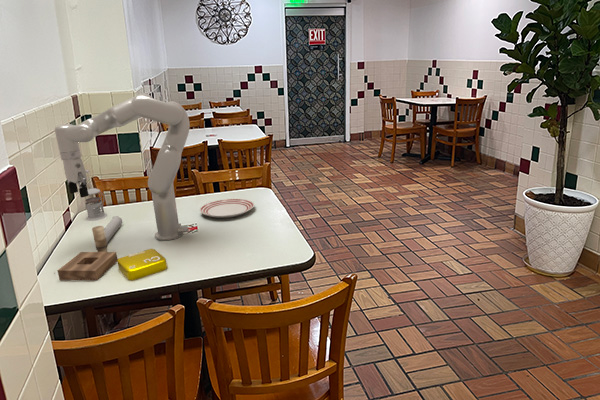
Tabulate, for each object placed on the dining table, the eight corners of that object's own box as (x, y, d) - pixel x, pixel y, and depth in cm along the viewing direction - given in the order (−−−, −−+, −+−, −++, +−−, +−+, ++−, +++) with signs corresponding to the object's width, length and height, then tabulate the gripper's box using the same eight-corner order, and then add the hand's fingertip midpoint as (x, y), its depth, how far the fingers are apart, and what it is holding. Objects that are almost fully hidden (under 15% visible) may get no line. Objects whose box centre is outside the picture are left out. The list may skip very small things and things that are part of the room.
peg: (111, 252, 197) (105, 225, 193) (105, 256, 192) (100, 229, 188) (100, 252, 197) (95, 225, 193) (95, 256, 193) (89, 230, 189)
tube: (107, 238, 202) (123, 217, 225) (94, 235, 201) (112, 214, 224) (105, 249, 203) (121, 227, 227) (93, 246, 202) (110, 225, 226)
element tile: (154, 257, 191) (153, 246, 189) (169, 269, 179) (167, 258, 178) (117, 268, 182) (115, 257, 181) (129, 282, 171) (127, 270, 169)
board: (117, 261, 188) (116, 251, 187) (97, 280, 173) (95, 270, 172) (83, 260, 190) (81, 252, 188) (59, 280, 175) (57, 270, 173)
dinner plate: (206, 204, 251) (206, 198, 250) (257, 202, 249) (257, 196, 248) (194, 223, 225) (193, 216, 224) (250, 221, 223) (250, 214, 222)
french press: (82, 219, 237) (71, 172, 229) (98, 212, 247) (88, 166, 239) (97, 221, 233) (88, 173, 225) (113, 213, 244) (104, 166, 236)
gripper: (89, 155, 188) (97, 195, 194) (70, 150, 199) (79, 189, 205) (70, 159, 183) (79, 200, 189) (52, 154, 194) (61, 193, 200)
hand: (79, 194), depth 197 cm, fingers open, 9 cm apart
